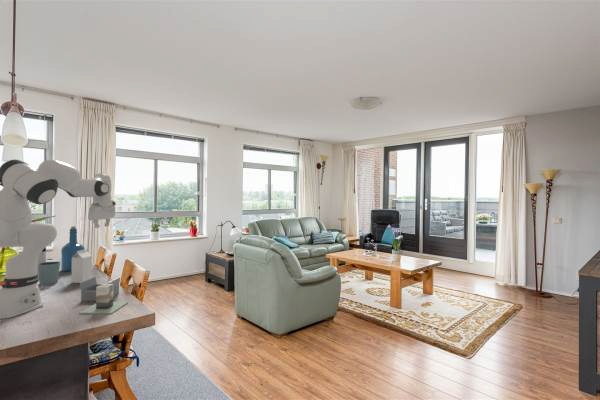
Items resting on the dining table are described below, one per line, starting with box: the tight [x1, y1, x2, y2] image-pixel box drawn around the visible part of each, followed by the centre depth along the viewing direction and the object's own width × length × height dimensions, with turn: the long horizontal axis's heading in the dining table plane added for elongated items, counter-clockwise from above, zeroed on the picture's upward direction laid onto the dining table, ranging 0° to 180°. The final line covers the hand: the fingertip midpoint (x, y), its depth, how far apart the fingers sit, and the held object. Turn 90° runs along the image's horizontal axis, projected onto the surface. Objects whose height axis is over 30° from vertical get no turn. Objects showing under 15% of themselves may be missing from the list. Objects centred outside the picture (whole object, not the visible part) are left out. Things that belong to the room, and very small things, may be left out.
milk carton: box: [71, 249, 93, 284], centre depth 190 cm, size 7×7×19 cm
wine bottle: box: [60, 225, 85, 273], centre depth 219 cm, size 14×13×30 cm
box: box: [95, 283, 114, 309], centre depth 147 cm, size 5×5×10 cm
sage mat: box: [79, 301, 129, 315], centre depth 147 cm, size 14×14×1 cm
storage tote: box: [79, 276, 121, 302], centre depth 162 cm, size 12×13×9 cm
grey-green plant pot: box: [38, 261, 61, 287], centre depth 186 cm, size 10×10×12 cm
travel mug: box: [37, 246, 47, 280], centre depth 196 cm, size 6×7×20 cm
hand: (102, 227), depth 180 cm, fingers open, 8 cm apart
